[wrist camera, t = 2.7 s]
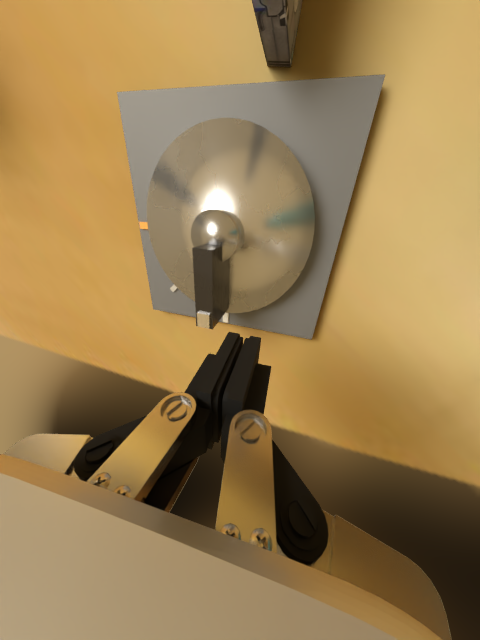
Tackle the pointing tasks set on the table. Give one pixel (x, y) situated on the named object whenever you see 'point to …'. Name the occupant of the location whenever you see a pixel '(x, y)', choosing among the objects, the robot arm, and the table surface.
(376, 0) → the table surface
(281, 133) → the dial plate
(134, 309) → the table surface
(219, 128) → the dial
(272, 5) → the mini dv tape
